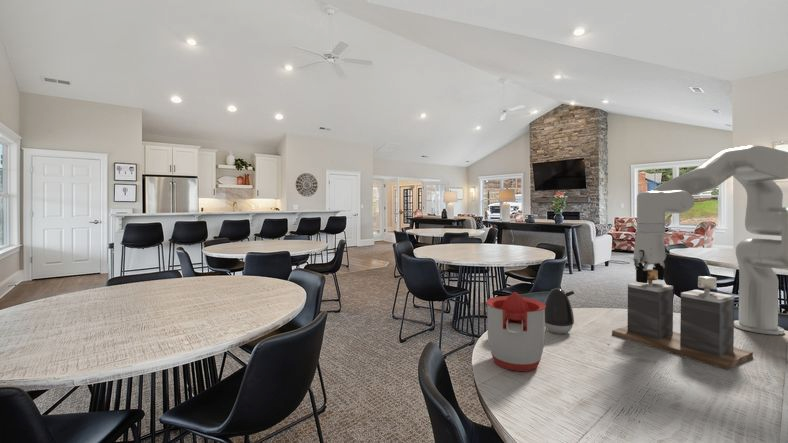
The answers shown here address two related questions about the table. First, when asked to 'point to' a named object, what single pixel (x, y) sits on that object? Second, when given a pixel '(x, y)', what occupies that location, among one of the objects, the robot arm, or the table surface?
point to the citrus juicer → (516, 331)
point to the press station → (684, 324)
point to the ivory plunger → (707, 283)
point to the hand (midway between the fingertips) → (650, 280)
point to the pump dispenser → (558, 311)
